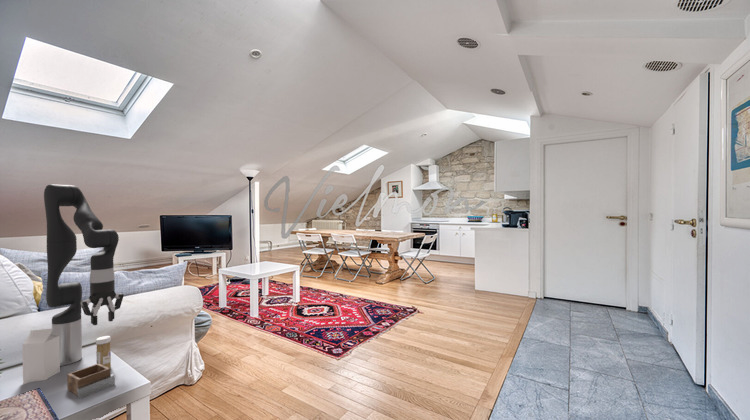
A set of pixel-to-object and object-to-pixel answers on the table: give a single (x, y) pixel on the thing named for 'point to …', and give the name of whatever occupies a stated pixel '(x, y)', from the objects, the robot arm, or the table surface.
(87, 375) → the block
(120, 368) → the table surface
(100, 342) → the sprinkles bottle
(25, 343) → the milk carton
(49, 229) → the robot arm
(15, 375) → the table surface
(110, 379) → the rail
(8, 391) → the table surface
